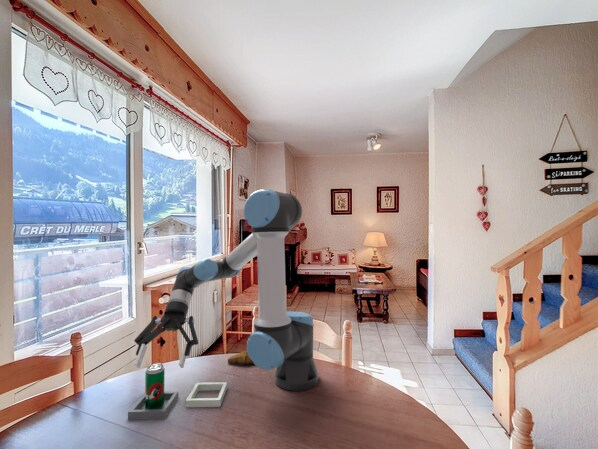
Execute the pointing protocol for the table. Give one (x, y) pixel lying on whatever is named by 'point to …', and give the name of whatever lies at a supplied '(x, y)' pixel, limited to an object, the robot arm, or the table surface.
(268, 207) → the robot arm
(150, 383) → the soda can
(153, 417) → the socket upper
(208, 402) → the socket lower
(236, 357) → the croissant
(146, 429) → the table surface
